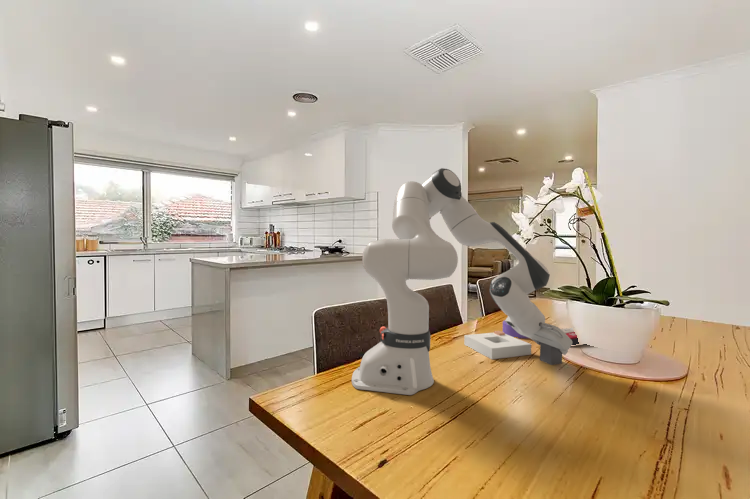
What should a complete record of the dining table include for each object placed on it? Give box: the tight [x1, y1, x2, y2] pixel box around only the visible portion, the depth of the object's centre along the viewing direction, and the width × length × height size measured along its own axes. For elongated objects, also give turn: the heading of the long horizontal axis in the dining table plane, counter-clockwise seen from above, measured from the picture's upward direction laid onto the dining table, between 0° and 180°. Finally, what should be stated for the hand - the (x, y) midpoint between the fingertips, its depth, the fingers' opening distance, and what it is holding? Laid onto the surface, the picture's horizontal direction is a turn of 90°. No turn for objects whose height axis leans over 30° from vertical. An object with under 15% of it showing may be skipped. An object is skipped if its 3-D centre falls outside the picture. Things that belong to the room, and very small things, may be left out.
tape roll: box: [502, 319, 530, 339], centre depth 143 cm, size 12×12×5 cm
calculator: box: [560, 327, 579, 345], centre depth 134 cm, size 11×4×15 cm
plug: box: [539, 342, 563, 366], centre depth 111 cm, size 4×4×8 cm
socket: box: [463, 330, 532, 360], centre depth 123 cm, size 16×16×4 cm
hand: (552, 347), depth 112 cm, fingers open, 8 cm apart
